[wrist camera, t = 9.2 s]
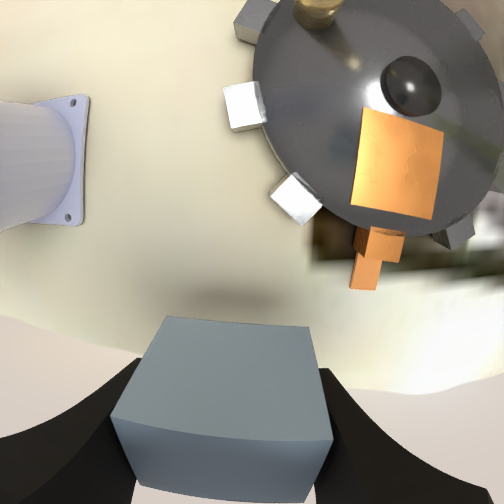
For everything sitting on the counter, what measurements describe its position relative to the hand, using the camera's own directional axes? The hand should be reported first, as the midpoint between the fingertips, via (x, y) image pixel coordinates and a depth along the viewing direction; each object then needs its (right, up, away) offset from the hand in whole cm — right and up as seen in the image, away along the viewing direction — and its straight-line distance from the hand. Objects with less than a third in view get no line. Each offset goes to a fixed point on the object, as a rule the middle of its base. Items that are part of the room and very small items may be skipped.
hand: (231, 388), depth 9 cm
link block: (0, 0, +1) cm, 2 cm away
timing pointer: (+7, +3, +7) cm, 11 cm away
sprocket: (+8, +13, +4) cm, 16 cm away
